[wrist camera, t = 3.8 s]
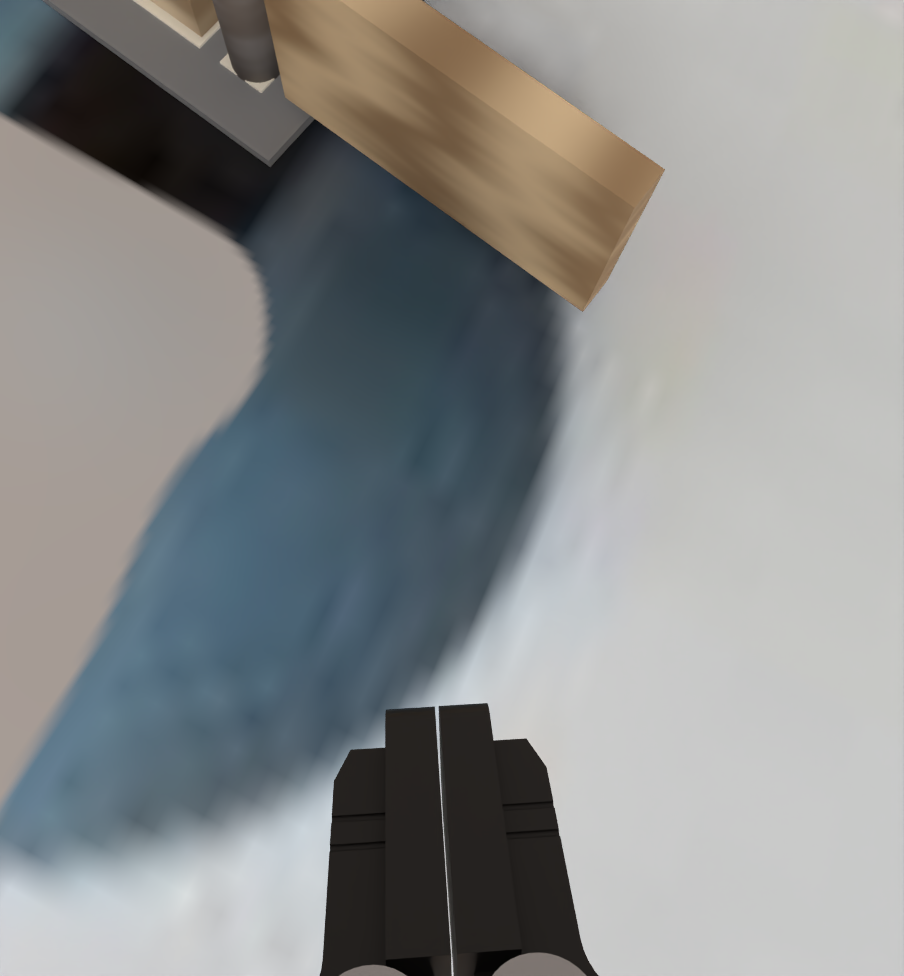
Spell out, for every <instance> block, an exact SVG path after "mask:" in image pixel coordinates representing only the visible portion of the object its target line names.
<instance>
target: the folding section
mask: <svg viewBox="0 0 904 976" xmlns="http://www.w3.org/2000/svg"><path fill="white" fill-rule="evenodd" d="M264 3H265V8H266V12H267V17H268V21H269V26H270V31H271V35H272V40H273V44H274V49H275V53H276V58H277V63H278V67H279V72H280V76H281V81H282V85H283V90H284V94H285V98H287V99H288V100H289V101H291V102H292V103H294V104H295V105H296V106H298V107H299V108H300V109H302V110H303V111H305V112H306V113H307V114H309V115H310V116H312V117H313V118H314V119H316V120H317V121H319V122H320V123H321V124H323V125H324V126H325V127H327V128H328V129H330V130H331V131H332V132H334V133H335V134H337V135H338V136H339V137H341V138H342V139H343V140H345V141H346V142H348V143H349V144H350V145H352V146H353V147H355V148H356V149H357V150H359V151H360V152H362V153H363V154H364V155H366V156H367V157H368V158H370V159H371V160H373V161H374V162H375V163H377V164H378V165H380V166H381V167H382V168H384V169H385V170H387V171H388V172H389V173H391V174H392V175H393V176H395V177H396V178H398V179H399V180H400V181H402V182H403V183H405V184H406V185H407V186H409V187H410V188H412V189H413V190H414V191H416V192H417V193H418V194H420V195H421V196H423V197H424V198H425V199H427V200H428V201H430V202H431V203H432V204H434V205H435V206H437V207H438V208H439V209H441V210H442V211H443V212H445V213H446V214H448V215H449V216H450V217H452V218H453V219H455V220H456V221H457V222H459V223H460V224H462V225H463V226H464V227H466V228H467V229H468V230H470V231H471V232H473V233H474V234H475V235H477V236H478V237H480V238H481V239H482V240H484V241H485V242H487V243H488V244H489V245H491V246H492V247H493V248H495V249H496V250H498V251H499V252H500V253H502V254H503V255H505V256H506V257H507V258H509V259H510V260H512V261H513V262H514V263H516V264H517V265H518V266H520V267H521V268H523V269H524V270H525V271H527V272H528V273H530V274H531V275H532V276H534V277H535V278H537V279H538V280H539V281H541V282H542V283H543V284H545V285H546V286H548V287H549V288H550V289H552V290H553V291H555V292H556V293H557V294H559V295H560V296H561V297H563V298H564V299H566V300H567V301H568V302H570V303H571V304H573V305H574V306H575V307H577V308H578V309H580V310H581V311H582V312H583V311H584V310H585V308H586V307H587V306H588V304H589V303H590V302H591V301H592V299H593V298H594V297H595V296H596V294H597V293H598V292H599V290H600V289H601V288H602V287H603V285H604V284H605V283H606V281H607V280H608V278H609V276H610V274H611V272H612V270H613V268H614V266H615V264H616V262H617V260H618V259H619V257H620V255H621V253H622V251H623V249H624V247H625V245H626V243H627V241H628V239H629V237H630V235H631V234H632V232H633V230H634V228H635V226H636V224H637V222H638V220H639V218H640V216H641V214H642V212H643V211H644V209H645V207H646V205H647V203H648V201H649V199H650V197H651V195H652V193H653V191H654V189H655V188H656V186H657V184H658V182H659V180H660V178H661V176H662V174H663V172H664V170H665V169H663V168H662V167H660V166H659V165H658V164H656V163H655V162H653V161H652V160H650V159H649V158H648V157H646V156H645V155H643V154H642V153H640V152H639V151H637V150H636V149H635V148H633V147H632V146H630V145H629V144H627V143H626V142H625V141H623V140H622V139H620V138H619V137H617V136H616V135H614V134H613V133H612V132H610V131H609V130H607V129H606V128H604V127H603V126H602V125H600V124H599V123H597V122H596V121H594V120H593V119H592V118H590V117H589V116H587V115H586V114H584V113H583V112H581V111H580V110H579V109H577V108H576V107H574V106H573V105H571V104H570V103H569V102H567V101H566V100H564V99H563V98H561V97H560V96H558V95H557V94H556V93H554V92H553V91H551V90H550V89H548V88H547V87H546V86H544V85H543V84H541V83H540V82H538V81H537V80H535V79H534V78H533V77H531V76H530V75H528V74H527V73H525V72H524V71H523V70H521V69H520V68H518V67H517V66H515V65H514V64H512V63H511V62H510V61H508V60H507V59H505V58H504V57H502V56H501V55H500V54H498V53H497V52H495V51H494V50H492V49H491V48H489V47H488V46H487V45H485V44H484V43H482V42H481V41H479V40H478V39H477V38H475V37H474V36H472V35H471V34H469V33H468V32H466V31H465V30H464V29H462V28H461V27H459V26H458V25H456V24H455V23H454V22H452V21H451V20H449V19H448V18H446V17H445V16H443V15H442V14H441V13H439V12H438V11H436V10H435V9H433V8H432V7H431V6H429V5H428V4H426V3H425V2H423V1H422V0H264Z"/></svg>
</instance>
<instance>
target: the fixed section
mask: <svg viewBox="0 0 904 976" xmlns="http://www.w3.org/2000/svg"><path fill="white" fill-rule="evenodd" d="M150 1H152V2H153V3H155V4H156V5H157V6H159V7H160V8H162V9H163V10H164V11H166V12H167V13H169V14H170V15H171V16H173V17H174V18H175V19H177V20H178V21H180V22H181V23H182V24H184V25H185V26H187V27H188V28H189V29H191V30H192V31H194V32H195V33H196V34H198V35H199V36H200V37H203V36H204V35H205V34H206V33H207V31H208V30H209V29H210V28H211V27H212V26H213V25H214V24H215V23H216V22H217V21H219V24H220V28H221V31H222V34H223V38H224V41H225V45H226V48H227V51H228V55H229V58H230V61H231V65H232V68H233V70H234V71H235V73H236V74H237V76H238V77H239V78H240V79H241V80H243V81H245V80H246V81H249V82H254V83H261V82H266V81H269V80H271V79H273V78H274V79H276V78H277V77H278V76H279V75H280V72H279V67H278V63H277V58H276V53H275V49H274V44H273V40H272V35H271V31H270V26H269V21H268V17H267V12H266V8H265V3H264V0H150Z"/></svg>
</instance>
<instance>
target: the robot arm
mask: <svg viewBox="0 0 904 976" xmlns="http://www.w3.org/2000/svg"><path fill="white" fill-rule="evenodd" d="M439 731H440V762H441V787H442V806H443V822H444V837H445V852H446V867H447V882H448V897H449V912H450V927H451V942H452V957H453V972H454V976H598V975H597V973H596V972H595V971H594V969H593V968H592V966H591V964H590V963H589V961H588V959H587V957H586V955H585V952H584V950H583V946H582V943H581V939H580V934H579V929H578V924H577V919H576V914H575V909H574V904H573V899H572V894H571V889H570V884H569V879H568V874H567V869H566V864H565V859H564V853H563V848H562V843H561V838H560V836H559V828H558V823H557V818H556V813H555V808H554V806H553V798H552V793H551V788H550V783H549V778H548V773H547V768H546V766H545V764H544V763H543V762H542V760H541V759H540V757H539V756H538V755H537V753H536V752H535V750H534V749H533V747H532V746H531V745H530V743H529V742H528V740H527V739H512V740H496V741H493V735H492V727H491V720H490V713H489V707H488V704H487V703H483V704H467V705H450V706H439ZM320 976H451V949H450V933H449V918H448V903H447V887H446V872H445V857H444V841H443V826H442V811H441V795H440V780H439V764H438V749H437V734H436V718H435V707H422V708H405V709H389V710H386V721H385V748H373V749H357V750H350V752H349V754H348V756H347V758H346V760H345V761H344V763H343V765H342V767H341V769H340V771H339V773H338V775H337V777H336V778H335V780H334V790H333V806H332V823H331V838H330V854H329V870H328V886H327V902H326V918H325V934H324V950H323V962H322V969H321V973H320Z"/></svg>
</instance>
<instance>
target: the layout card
mask: <svg viewBox="0 0 904 976" xmlns="http://www.w3.org/2000/svg"><path fill="white" fill-rule="evenodd" d="M42 1H43V2H45V3H46V4H47V5H49V6H50V7H52V8H53V9H54V10H56V11H57V12H58V13H60V14H61V15H63V16H64V17H65V18H67V19H68V20H69V21H71V22H72V23H73V24H75V25H76V26H78V27H79V28H80V29H82V30H83V31H84V32H86V33H87V34H89V35H90V36H91V37H93V38H94V39H95V40H97V41H98V42H100V43H101V44H102V45H104V46H105V47H106V48H108V49H109V50H110V51H112V52H113V53H115V54H116V55H117V56H119V57H120V58H121V59H123V60H124V61H126V62H127V63H128V64H130V65H131V66H132V67H134V68H135V69H136V70H138V71H139V72H141V73H142V74H143V75H145V76H146V77H147V78H149V79H150V80H152V81H153V82H154V83H156V84H157V85H158V86H160V87H161V88H162V89H164V90H165V91H167V92H168V93H169V94H171V95H172V96H173V97H175V98H176V99H178V100H179V101H180V102H182V103H183V104H184V105H186V106H187V107H188V108H190V109H191V110H193V111H194V112H195V113H197V114H198V115H199V116H201V117H202V118H204V119H205V120H206V121H208V122H209V123H210V124H212V125H213V126H215V127H216V128H217V129H219V130H220V131H221V132H223V133H224V134H225V135H227V136H228V137H230V138H231V139H232V140H234V141H235V142H236V143H238V144H239V145H241V146H242V147H243V148H245V149H246V150H247V151H249V152H250V153H251V154H253V155H254V156H256V157H257V158H258V159H260V160H261V161H262V162H264V163H265V164H267V165H268V166H269V167H271V166H272V165H273V164H274V163H275V162H276V160H277V159H278V158H279V157H280V156H281V155H282V154H283V153H284V152H285V151H286V150H287V149H288V147H289V146H290V145H291V144H292V143H293V142H294V141H295V140H296V139H297V138H298V137H299V135H300V134H301V133H302V132H303V131H304V130H305V129H306V128H307V127H308V126H309V125H310V124H311V122H312V121H313V120H314V118H313V117H312V116H310V115H309V114H307V113H306V112H305V111H303V110H302V109H300V108H299V107H298V106H296V105H295V104H294V103H292V102H291V101H289V100H288V99H287V98H285V94H284V90H283V85H282V81H281V76H280V75H279V76H278V77H277V78H276V79H274V78H273V79H271V80H269V81H266V82H261V83H254V82H249V81H246V80H245V81H243V80H241V79H240V78H239V77H238V76H237V74H236V73H235V71H234V70H233V68H232V65H231V61H230V58H229V55H228V51H227V48H226V45H225V41H224V38H223V34H222V31H221V28H220V24H219V21H217V22H216V23H215V24H214V25H213V26H212V27H211V28H210V29H209V30H208V31H207V33H206V34H205V35H204V36H203V37H200V36H199V35H198V34H196V33H195V32H194V31H192V30H191V29H189V28H188V27H187V26H185V25H184V24H182V23H181V22H180V21H178V20H177V19H175V18H174V17H173V16H171V15H170V14H169V13H167V12H166V11H164V10H163V9H162V8H160V7H159V6H157V5H156V4H155V3H153V2H152V1H150V0H42ZM422 1H424V0H422Z"/></svg>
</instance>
